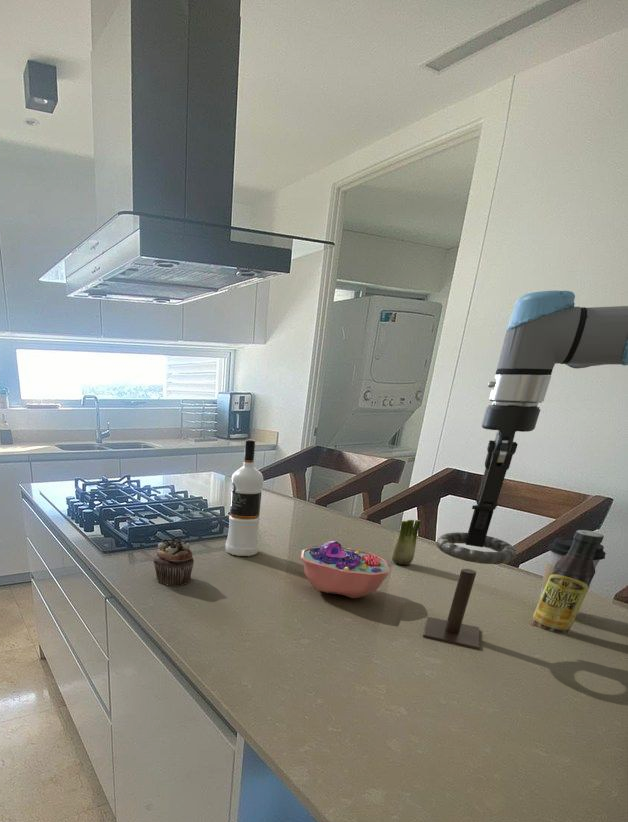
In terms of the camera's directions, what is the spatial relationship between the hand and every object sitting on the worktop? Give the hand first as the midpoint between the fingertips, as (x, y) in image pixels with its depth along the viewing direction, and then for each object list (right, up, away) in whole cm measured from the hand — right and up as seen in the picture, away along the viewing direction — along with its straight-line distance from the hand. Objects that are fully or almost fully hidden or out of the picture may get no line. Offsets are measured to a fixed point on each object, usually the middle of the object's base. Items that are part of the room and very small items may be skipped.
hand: (474, 543), depth 88 cm
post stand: (-3, -17, +3) cm, 18 cm away
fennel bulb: (+6, -1, +41) cm, 41 cm away
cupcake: (-55, -6, +28) cm, 62 cm away
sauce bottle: (+19, -16, +7) cm, 26 cm away
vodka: (-36, +3, +47) cm, 60 cm away
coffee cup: (+27, -13, +16) cm, 33 cm away
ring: (-2, -1, -4) cm, 5 cm away
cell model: (-17, -9, +22) cm, 30 cm away
